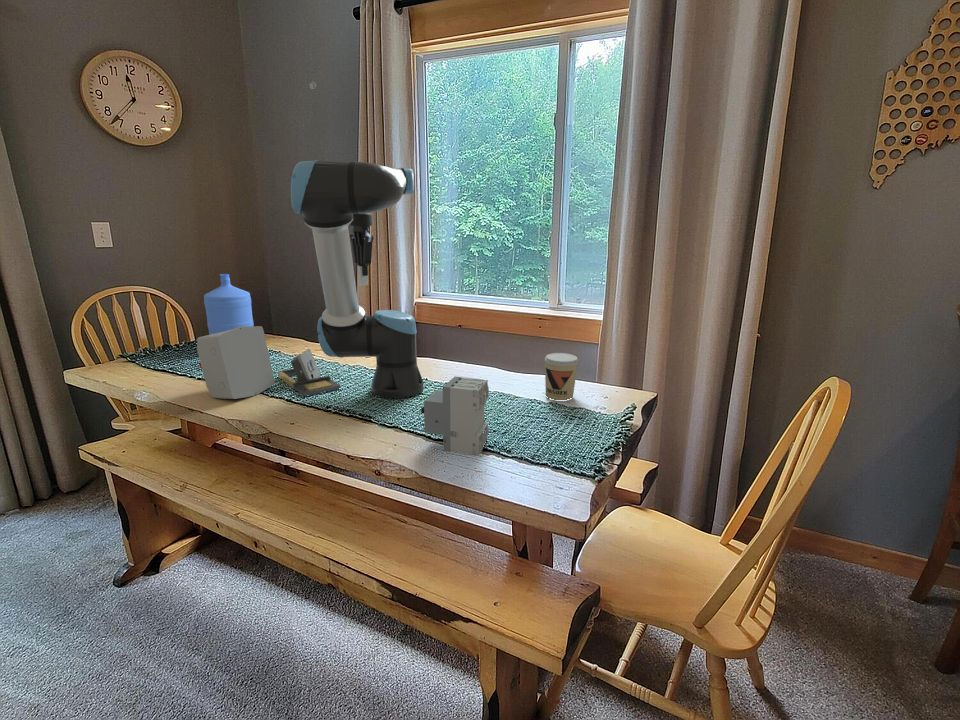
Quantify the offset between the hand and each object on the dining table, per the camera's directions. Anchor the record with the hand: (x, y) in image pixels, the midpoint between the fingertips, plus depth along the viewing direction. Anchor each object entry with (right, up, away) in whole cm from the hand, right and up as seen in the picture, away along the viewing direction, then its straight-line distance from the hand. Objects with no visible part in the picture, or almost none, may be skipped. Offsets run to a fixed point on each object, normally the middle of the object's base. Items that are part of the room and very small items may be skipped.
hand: (364, 285), depth 172 cm
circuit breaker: (+34, -45, -57) cm, 80 cm away
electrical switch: (-14, -32, -16) cm, 39 cm away
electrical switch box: (-31, -35, -25) cm, 53 cm away
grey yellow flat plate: (-13, -33, -18) cm, 40 cm away
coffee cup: (+63, -37, -27) cm, 78 cm away
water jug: (-54, -22, +19) cm, 61 cm away
